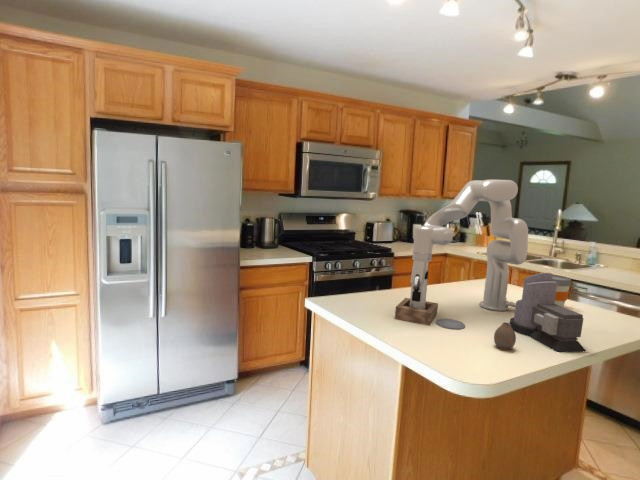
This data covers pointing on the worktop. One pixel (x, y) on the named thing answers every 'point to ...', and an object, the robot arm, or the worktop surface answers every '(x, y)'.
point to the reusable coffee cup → (561, 289)
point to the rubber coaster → (450, 324)
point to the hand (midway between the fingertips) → (417, 298)
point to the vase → (505, 337)
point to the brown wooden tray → (416, 312)
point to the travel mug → (423, 295)
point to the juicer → (546, 316)
